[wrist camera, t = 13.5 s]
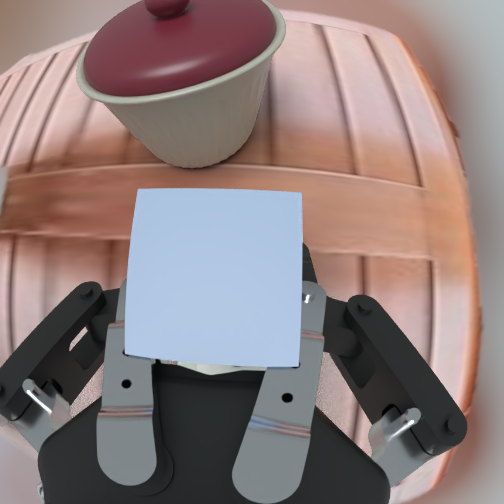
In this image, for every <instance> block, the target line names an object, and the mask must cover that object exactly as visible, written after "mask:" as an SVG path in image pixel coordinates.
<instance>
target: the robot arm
mask: <svg viewBox="0 0 504 504" xmlns="http://www.w3.org/2000/svg"><path fill="white" fill-rule="evenodd" d="M126 286H127V278H126V279H125V280H124V281H123V282H122V284H121V286H120V288H118V289H112V290H106V291H103V290H102V288H101V286H100V284H99V283H97V282H93V281H89V282H85V283H82V284H80V285H79V286H77V287H76V288H75V289H74V290H73V291H72V292H71V293H70V294H69V295H68V296H67V297H66V298H65V299H64V300H63V301H61V302H60V303H59V304H58V305H57V306H56V307H55V308H54V309H53V310H52V311H51V312H50V313H49V315H48V316H47V317H46V318H45V319H44V320H43V321H42V322H41V323H40V324H39V325H38V326H37V327H36V328H35V329H34V330H33V331H32V332H31V333H30V335H29V336H28V337H27V338H26V339H25V340H24V341H23V342H22V343H21V345H20V346H19V347H18V348H17V349H16V350H15V351H14V353H13V354H12V355H11V356H10V357H9V358H8V360H7V361H6V362H5V363H4V364H3V366H2V367H1V368H0V426H2V425H4V424H7V423H9V422H10V423H11V424H13V425H14V426H15V427H16V428H17V429H18V430H19V432H20V433H21V434H22V435H23V436H24V437H25V439H26V440H27V441H28V442H29V443H30V444H31V445H32V446H33V447H34V448H35V450H36V451H37V452H38V453H39V454H38V469H39V473H40V477H41V480H42V486H43V492H44V504H388V503H389V499H390V488H391V487H393V486H394V485H396V484H397V483H399V482H400V481H401V480H403V479H404V478H406V477H407V476H408V475H410V474H411V473H412V472H414V471H415V470H416V469H418V468H419V467H420V466H422V465H423V464H424V463H425V462H427V461H428V460H430V459H432V458H434V457H436V456H438V455H440V454H442V453H444V452H446V451H447V450H449V449H451V448H453V447H454V446H456V445H458V444H459V443H461V442H462V441H463V439H464V438H465V436H466V432H467V421H466V418H465V416H464V415H463V413H462V412H461V410H460V409H459V407H458V406H457V404H456V403H455V401H454V400H453V398H452V397H451V396H450V394H449V393H448V391H447V390H446V389H445V387H444V386H443V384H442V383H441V382H440V380H439V379H438V377H437V376H436V375H435V373H434V372H433V371H432V369H431V368H430V367H429V365H428V364H427V363H426V361H425V360H424V359H423V357H422V356H421V355H420V354H419V352H418V351H417V350H416V348H415V347H414V346H413V345H412V343H411V342H410V341H409V339H408V338H407V337H406V336H405V334H404V333H403V332H402V331H401V330H400V328H399V327H398V326H397V325H396V323H395V322H394V321H393V320H392V318H391V317H390V316H389V315H388V314H387V312H386V311H385V310H384V309H383V308H382V306H381V305H380V304H379V303H378V302H377V301H376V300H375V299H373V298H371V297H369V296H366V295H355V296H352V297H351V298H350V299H349V300H348V302H343V301H339V300H336V299H332V298H330V297H328V296H327V295H326V292H325V290H324V289H323V288H322V287H321V286H320V285H318V283H317V279H316V276H315V272H314V268H313V264H312V260H311V257H310V253H309V249H308V247H307V246H306V245H305V244H304V243H303V242H302V302H301V330H300V351H299V367H267V368H266V371H263V370H239V371H234V372H228V373H222V374H215V375H208V374H204V373H201V372H198V371H195V370H192V369H189V368H186V367H183V366H180V365H172V364H169V360H163V359H155V358H148V357H141V356H135V355H129V354H125V306H126ZM84 327H86V329H87V330H88V331H87V333H86V334H85V335H84V336H83V337H82V338H81V339H80V341H79V342H78V343H77V344H76V345H75V346H74V347H73V349H72V350H71V351H69V347H70V344H71V342H72V340H73V339H74V338H75V337H76V336H77V335H78V334H79V333H80V331H81V330H82V329H83V328H84ZM323 351H324V352H328V353H330V356H331V358H332V359H333V361H334V363H335V364H336V366H337V367H338V369H339V371H340V372H341V374H342V376H343V377H344V379H345V381H346V382H347V384H348V386H349V387H350V389H351V391H352V392H353V394H354V395H355V397H356V399H357V400H358V402H359V404H360V405H361V407H362V409H363V410H364V412H365V414H366V415H367V417H368V419H369V420H370V422H371V424H372V427H371V428H370V431H369V435H368V436H369V442H370V446H371V448H372V455H371V458H370V457H369V456H368V455H367V454H366V453H365V452H364V451H363V450H362V449H360V448H359V447H358V446H357V445H356V444H355V443H354V442H353V441H352V440H351V439H350V438H349V437H348V436H346V435H345V434H344V433H343V432H342V431H341V430H340V429H339V428H338V427H337V426H336V425H335V424H334V423H333V422H332V421H331V420H330V419H329V418H328V417H327V416H326V415H325V414H324V413H323V412H322V411H321V410H320V409H319V408H318V407H317V406H316V405H315V401H316V395H317V389H318V383H319V377H320V370H321V363H322V355H323ZM103 362H104V369H103V385H102V396H101V397H99V398H98V399H97V400H96V401H94V402H93V403H92V404H90V405H89V406H88V407H87V408H85V409H84V410H83V411H81V412H80V413H79V414H77V415H76V416H75V417H73V418H71V415H70V406H71V404H72V403H73V402H74V400H75V399H76V398H77V396H78V395H79V394H80V392H81V391H82V390H83V388H84V387H85V386H86V384H87V383H88V382H89V380H90V379H91V378H92V376H93V375H94V374H95V373H96V371H97V370H98V369H99V367H100V366H101V365H102V364H103Z"/></svg>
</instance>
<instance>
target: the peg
mask: <svg viewBox="0 0 504 504" xmlns="http://www.w3.org/2000/svg"><path fill="white" fill-rule="evenodd" d="M301 302H302V193H299V192H284V191H266V190H243V189H200V188H167V189H138V193H137V199H136V205H135V212H134V218H133V226H132V233H131V242H130V251H129V261H128V272H127V286H126V306H125V354H129V355H135V356H141V357H148V358H155V359H163V360H171V361H180V362H189V363H200V364H213V365H230V366H256V367H299V351H300V330H301Z"/></svg>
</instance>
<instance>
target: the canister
mask: <svg viewBox="0 0 504 504" xmlns="http://www.w3.org/2000/svg"><path fill="white" fill-rule="evenodd" d="M285 32H286V24H285V21H284V18H283V16H282V15H281V13H280V12H279V11H278V10H277V9H276V8H275V7H274V6H273V5H271V4H270V3H269V2H267V1H265V0H142V1H140V2H138V3H136V4H134V5H132V6H130V7H128V8H127V9H125V10H123V11H122V12H120V13H119V14H117V15H116V16H115V17H113V18H112V19H111V20H110V21H108V22H107V23H106V24H105V25H104V26H103V27H102V28H101V29H100V30H99V31H98V32H97V34H96V35H95V36H94V38H93V39H92V40H91V41H90V42H89V44H88V45H87V46H86V48H85V49H84V51H83V53H82V55H81V57H80V59H79V61H78V65H77V69H76V79H77V83H78V85H79V87H80V89H81V90H82V92H83V93H84V94H86V95H87V96H88V97H90V98H92V99H94V100H96V101H99V102H102V103H104V105H105V106H106V107H107V108H108V109H109V110H110V111H111V112H112V113H113V114H114V115H115V116H116V117H117V118H118V119H119V120H120V122H121V123H122V124H123V125H124V126H125V127H126V128H127V129H128V130H129V131H130V132H131V133H132V134H133V135H134V136H135V137H136V138H137V139H138V140H139V141H140V142H141V143H142V144H143V145H144V146H145V147H146V148H147V149H148V150H149V151H150V152H152V153H153V154H154V155H155V156H156V157H157V158H159V159H161V160H163V161H164V162H165V163H169V164H172V165H173V166H180V167H182V168H186V167H189V168H196V167H200V168H202V167H204V166H211V165H212V164H215V163H219V162H220V161H222V160H224V159H227V158H228V157H229V156H231V155H233V154H235V152H236V151H237V150H238V149H240V148H241V147H242V145H243V144H244V143H245V142H246V141H247V139H248V137H249V136H250V134H251V133H252V130H253V127H254V125H255V122H256V119H257V115H258V112H259V108H260V104H261V101H262V97H263V93H264V88H265V84H266V80H267V76H268V72H269V68H270V64H271V60H272V55H273V54H274V53H275V52H276V51H277V49H278V48H279V47H280V45H281V44H282V42H283V40H284V37H285Z"/></svg>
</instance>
